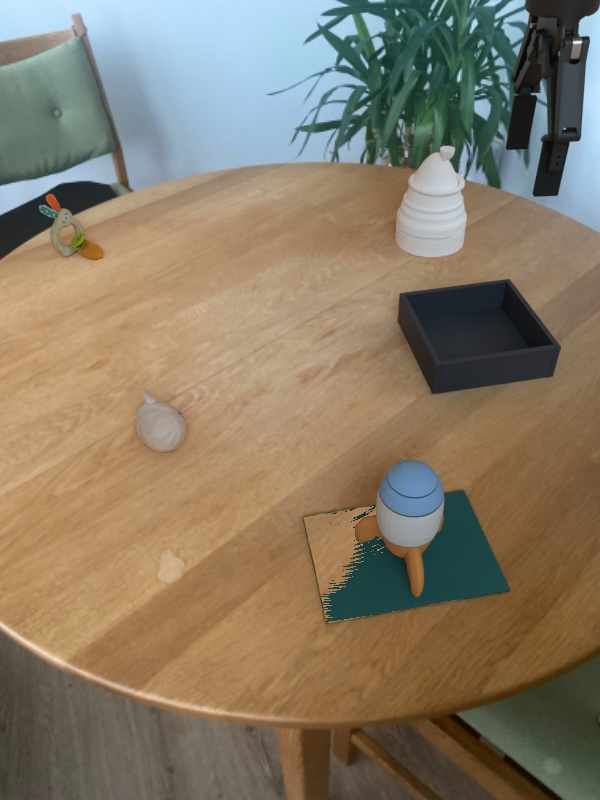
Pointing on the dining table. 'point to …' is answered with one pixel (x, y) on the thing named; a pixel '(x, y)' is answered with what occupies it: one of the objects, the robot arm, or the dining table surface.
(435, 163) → the honey pot
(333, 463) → the dining table surface
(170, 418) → the garlic bulb
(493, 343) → the tub
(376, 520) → the toy rocket
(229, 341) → the dining table surface
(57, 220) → the rattle
